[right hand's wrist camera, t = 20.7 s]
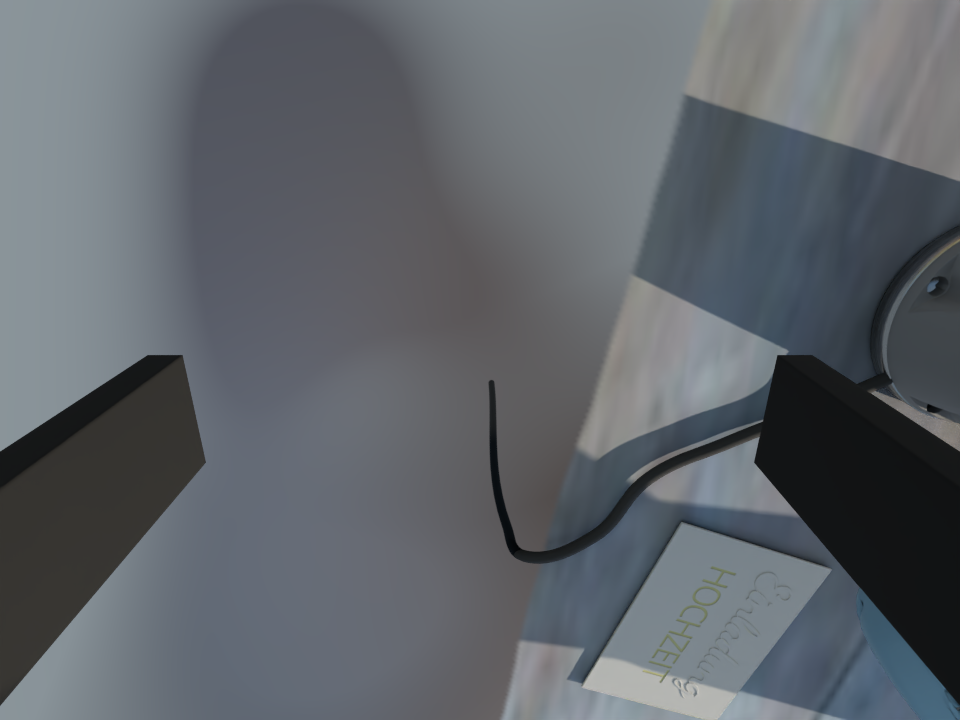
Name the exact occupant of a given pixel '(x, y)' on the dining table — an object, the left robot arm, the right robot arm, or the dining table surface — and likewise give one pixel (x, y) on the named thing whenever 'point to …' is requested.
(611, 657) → the invitation card
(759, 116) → the dining table surface
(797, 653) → the dining table surface
